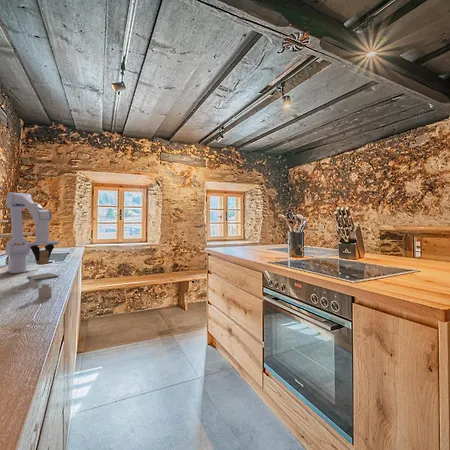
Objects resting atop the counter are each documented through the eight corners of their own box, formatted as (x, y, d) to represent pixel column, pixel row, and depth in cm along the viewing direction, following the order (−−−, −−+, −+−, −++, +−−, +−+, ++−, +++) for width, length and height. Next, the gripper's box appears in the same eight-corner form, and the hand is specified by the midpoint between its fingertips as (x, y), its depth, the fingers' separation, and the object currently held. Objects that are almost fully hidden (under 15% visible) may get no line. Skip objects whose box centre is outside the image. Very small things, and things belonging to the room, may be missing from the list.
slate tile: (27, 277, 132) (27, 276, 132) (49, 274, 141) (49, 272, 141) (35, 280, 127) (35, 279, 127) (57, 277, 135) (57, 275, 135)
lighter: (51, 296, 104) (51, 276, 103) (51, 297, 102) (51, 277, 102) (29, 299, 100) (29, 278, 100) (28, 300, 98) (28, 279, 98)
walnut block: (36, 264, 133) (36, 250, 133) (45, 262, 136) (45, 249, 136) (39, 264, 131) (39, 251, 130) (48, 263, 134) (48, 250, 134)
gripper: (28, 234, 125) (29, 262, 125) (61, 233, 137) (61, 258, 137) (22, 233, 129) (23, 261, 129) (55, 232, 141) (55, 257, 141)
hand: (42, 260), depth 133 cm, fingers closed on walnut block, 4 cm apart
